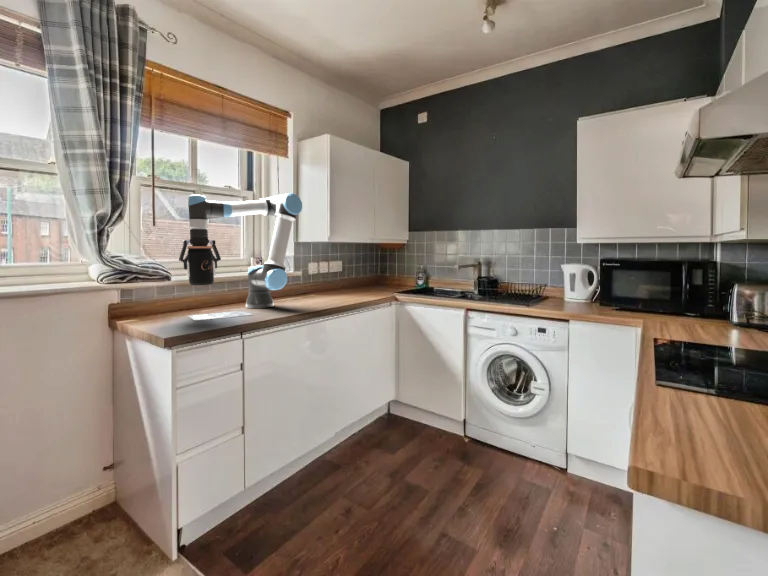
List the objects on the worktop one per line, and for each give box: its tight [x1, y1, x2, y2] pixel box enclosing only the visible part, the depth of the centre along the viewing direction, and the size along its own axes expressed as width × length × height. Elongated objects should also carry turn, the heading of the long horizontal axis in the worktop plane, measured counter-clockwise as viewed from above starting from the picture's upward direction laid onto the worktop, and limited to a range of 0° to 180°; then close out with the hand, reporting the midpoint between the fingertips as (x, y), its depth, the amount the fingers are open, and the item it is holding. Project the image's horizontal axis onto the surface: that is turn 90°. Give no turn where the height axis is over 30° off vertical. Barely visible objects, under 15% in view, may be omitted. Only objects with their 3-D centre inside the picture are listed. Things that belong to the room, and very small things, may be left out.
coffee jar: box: [186, 245, 215, 286], centre depth 184 cm, size 11×11×18 cm
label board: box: [187, 310, 253, 322], centre depth 191 cm, size 26×16×1 cm, turn 128°
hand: (201, 275), depth 184 cm, fingers closed on coffee jar, 11 cm apart
